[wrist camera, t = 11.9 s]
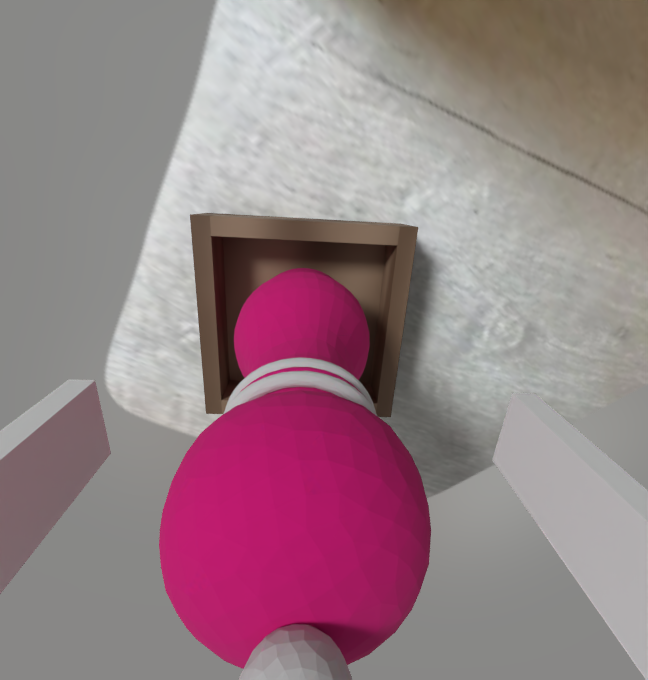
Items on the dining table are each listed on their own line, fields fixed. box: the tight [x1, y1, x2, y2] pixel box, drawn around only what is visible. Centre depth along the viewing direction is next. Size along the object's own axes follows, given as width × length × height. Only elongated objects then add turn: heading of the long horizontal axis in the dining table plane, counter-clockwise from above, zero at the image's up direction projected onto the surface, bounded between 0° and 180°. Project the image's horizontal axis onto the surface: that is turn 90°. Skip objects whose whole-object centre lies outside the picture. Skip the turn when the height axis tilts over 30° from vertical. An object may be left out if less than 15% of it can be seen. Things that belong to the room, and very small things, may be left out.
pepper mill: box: [159, 268, 431, 680], centre depth 14 cm, size 7×7×20 cm
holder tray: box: [190, 213, 418, 417], centre depth 22 cm, size 12×12×4 cm
